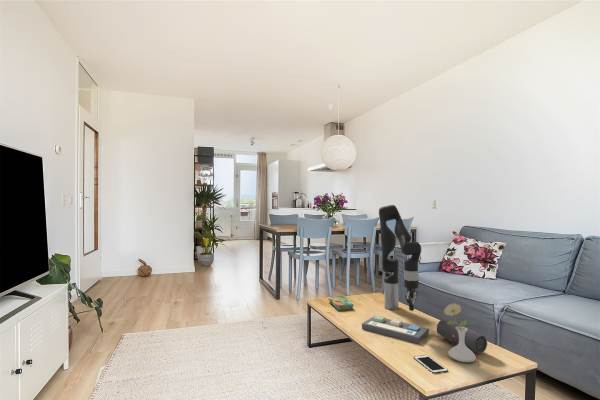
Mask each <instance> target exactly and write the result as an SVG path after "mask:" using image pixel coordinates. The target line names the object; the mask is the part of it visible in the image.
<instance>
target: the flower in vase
mask: <svg viewBox="0 0 600 400" xmlns="http://www.w3.org/2000/svg"><path fill="white" fill-rule="evenodd" d="M443 312H444V315H446V316H449V317H454V320H448V321H449V322H448V323H447V324H450V325H454V324H455V323H456V324H458V327H456V329H457V331H458V334H459V344H458V345H457V346H456V345H454V346H453V347H451V348H450V349H449V350H448V352H447V353H448V356H449V357H450V358H452V359H453V360H456V361H458V362H461V363H472V362H475V360H476V359H477V356H476V355H475V353H474V351H472V350H470V349H469V348H467V347H466V345H465V341H464V339H465V333H466V331H467V330H468V329H469V328H468V327H466V324H467V321H468V320H467V319H466V320H462V321H460V322H459V323H458V321H457V319H456V317H457V316H456V315H459V313H460V312H462V306H461V305H460V304H458V303H450V304H448V305H447V306H445V308H444V310H443ZM460 326H464V327H460ZM465 327H466V328H465ZM467 328H468V329H467Z"/></svg>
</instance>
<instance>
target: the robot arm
mask: <svg viewBox="0 0 600 400" xmlns="http://www.w3.org/2000/svg"><path fill="white" fill-rule="evenodd" d="M378 216H379V217H378V218H379V224H380V225H379V226H380V243H381V253H382V254H381V270H382V271H383V272H384V273H392V274H391V275H389V276H386V277H384V278H383V279H384V280H383V282H384V284H383V286H384V288H383V289H384V293H383V294H384V300H383V302H384V308H385V309H387V310H392V311H393V310H394V311H395V310H398V309H399V308H400V307H399V266H400V265H399V259H397V258H389V255H390V254H391V253H392V252H393V250H394V249H395V248H396V245H397V243H396V239H397V240H398V243H399V245H400V251H401V253H402V254H403V255H405V256H410V257H409V258H407V259H405V260H404V264H403V265H404V272H403V286H404V288H405V289H406V294H405V300H406V303H407V304H408V310H409V311H411V312H413V311H415V302H416V301H417V297H418V291H417V289H418V288H419V285H420V284H419V280H420V279H419V261H420V257H421V253H422V245H421V244H420V242H418V241H412V236H411V234H410V233H409V231H408V229H407V227H406V226H405V224H404V221H403V219H402V216H401V214H400V211H399V210H398V208H397V207H396V205H395V204H391V205H386V206H385V205H384V206H381V207H379V209H378ZM392 220H394V221H395V225H394V231H393V230H391V228H390V227H389V226H388V224H387V222H389V221H392Z"/></svg>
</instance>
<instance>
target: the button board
mask: <svg viewBox="0 0 600 400" xmlns="http://www.w3.org/2000/svg"><path fill="white" fill-rule="evenodd" d="M375 316H376V315H373V316H372V317H370V318H368V319H367V320H365V321H364V322H362V323H361V329H362V330H366V331H370V332H372V333H376V334H381V335H385V336H388V337H390V338H396V339H398V340H402V341H406V342H410V343H414V344H418V345H419V344H421V342H422V341H423V340H424V339H425V338H426V337H427V336H428V335H429V334H430V332H429V331H430V330H429V329H430V328H428V327H425V326H420V325H417V324H413V323H408V322H403V321H402V326H400V327H395V326H391V325H390V321H391V320H392V319H390V318H386V317H385V322H383V323H378V322H374V317H375ZM410 325H413V326H417V327H420V330H419V331H418V332H416V331H411V330H408V327H409V326H410Z"/></svg>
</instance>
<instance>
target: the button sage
mask: <svg viewBox="0 0 600 400" xmlns="http://www.w3.org/2000/svg"><path fill="white" fill-rule="evenodd" d="M374 316H375V317H374V322H378V323H383V322H385V318H386V316H384V315H383V316H382V315H374Z"/></svg>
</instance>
